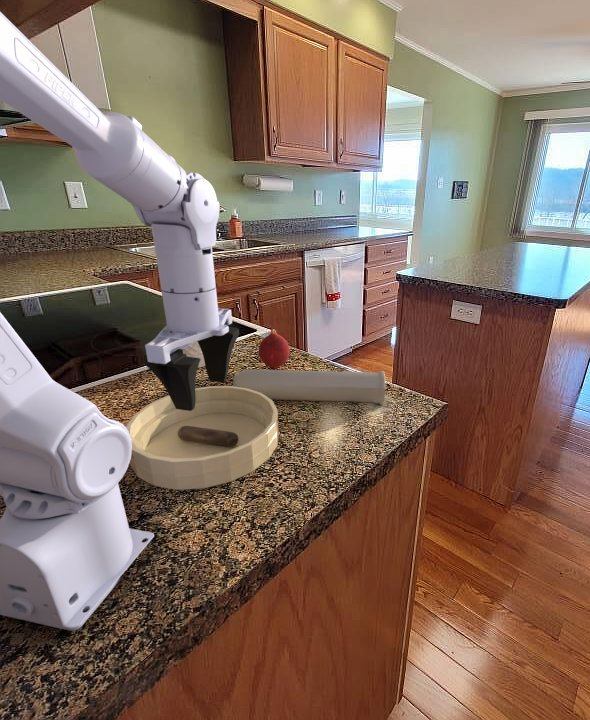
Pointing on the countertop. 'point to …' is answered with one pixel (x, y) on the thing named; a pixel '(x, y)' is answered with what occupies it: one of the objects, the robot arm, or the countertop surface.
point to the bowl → (197, 460)
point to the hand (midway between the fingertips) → (202, 393)
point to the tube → (314, 385)
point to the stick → (208, 436)
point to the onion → (274, 350)
